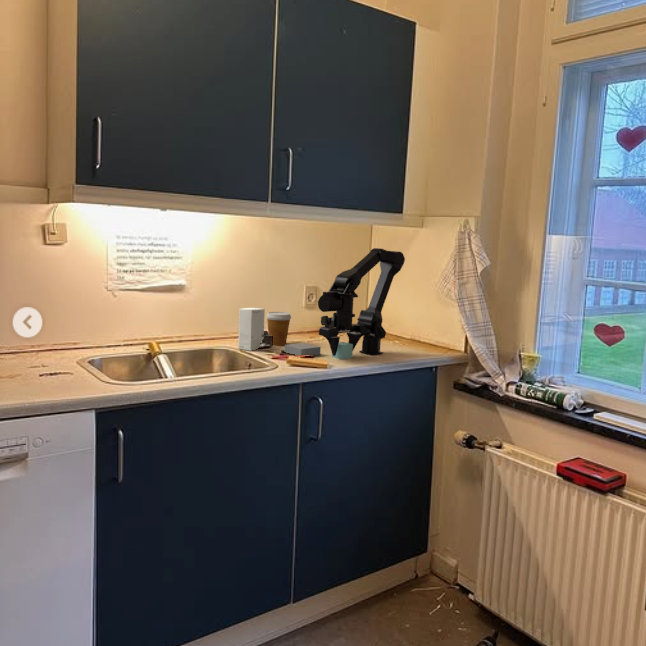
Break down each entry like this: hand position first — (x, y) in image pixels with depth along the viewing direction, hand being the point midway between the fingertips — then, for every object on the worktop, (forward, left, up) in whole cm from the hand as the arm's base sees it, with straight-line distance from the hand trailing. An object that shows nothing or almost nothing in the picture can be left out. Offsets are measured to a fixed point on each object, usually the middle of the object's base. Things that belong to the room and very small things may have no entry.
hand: (342, 354), depth 221 cm
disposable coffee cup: (+5, -30, -1) cm, 30 cm away
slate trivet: (+9, -11, -1) cm, 14 cm away
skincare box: (+19, -28, -1) cm, 34 cm away
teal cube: (0, 0, -1) cm, 1 cm away
